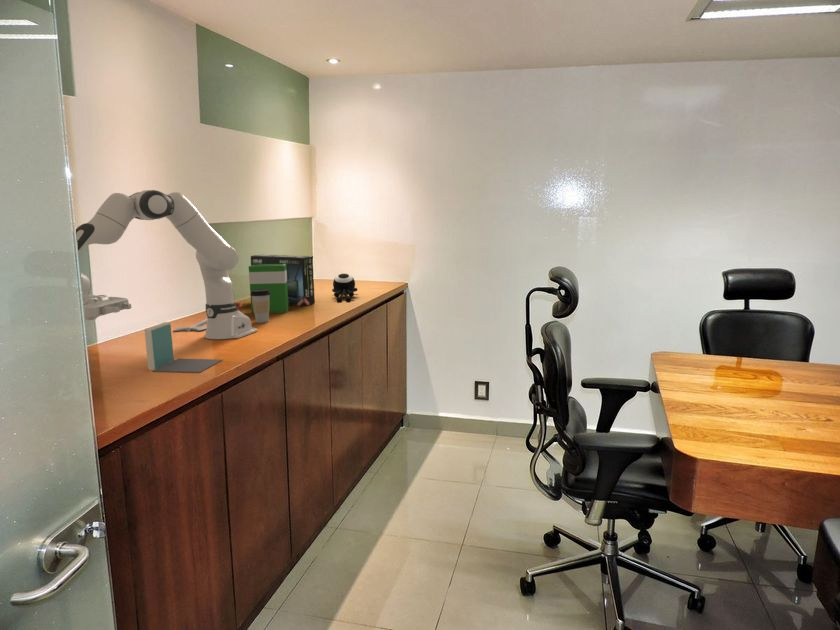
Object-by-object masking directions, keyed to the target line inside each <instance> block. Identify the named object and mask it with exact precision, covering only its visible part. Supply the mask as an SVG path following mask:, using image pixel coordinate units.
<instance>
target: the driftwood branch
mask: <svg viewBox="0 0 840 630" xmlns="http://www.w3.org/2000/svg"><path fill="white" fill-rule="evenodd" d="M204 324H207V317H206V318H204V319H202V320H200V321H198V322H196V323H194V324H193V325H191V326H185V325H184V326H178V327H176V328H174V329H173V330H174V332H180V331H186V332H191V331H196V332H197V331H198V332H199V331H203V330H206V327H207V325H204Z"/></svg>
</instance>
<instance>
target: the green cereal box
mask: <svg viewBox="0 0 840 630" xmlns="http://www.w3.org/2000/svg"><path fill="white" fill-rule="evenodd" d="M248 277H249V291H250V293H251V292H252V290H257V289H268V290H269V292H271V294H270V298H269V300H270V307H269V314H272V313H274V314H275V313H288V311H289V310H290V309H289V306H290V305H288V288H287V270H286V264H264V265H251V264H250V265H248ZM250 293H249V294H250ZM250 309H251V310H250V311H251V314H255V313H254V309H253V304H252V296H251V295H250Z"/></svg>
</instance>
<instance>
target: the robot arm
mask: <svg viewBox="0 0 840 630" xmlns="http://www.w3.org/2000/svg"><path fill="white" fill-rule="evenodd" d="M163 218H166V219H167V220H169V221H170V223H171V224H172V226H173V227H174V228H175V229H176V231H178V233H179V234H180V235H181V237H182V238H183V239H184V240H185V242H186V243H187V244H189V245H190V246H191V247H192V248H194V249H195V250H196V251H195V259H196V261H197V263H198V266H199V269H200V272H201V276H202V279H203V284H204V292H205V300H206V301H205V302H206V303H205V312H206V318H207V323H206V326H207V327H206V329H205V335H204V337H205V338H206V339H208V340H228V339H240V338H243V337H245V336H248V335H250V334H253V333H256V332H258V328H256V327H252V322H251V318H250V317H249V316H248V315H246V314H244V313H243V312H242V311H240V310H239V308H241V307H243V303H242V301H237V302H235V298H234V297H235V294H234V284H233V281H232V280H231V278H230V277H231V276H230V275H229V272H228V271H230V270H233V269H234V268H235V267H236V266H237V265H238V263H239V253H238V251H237V250H236V249H235V248H234V247H233V246H231V245H230V244H229V243H228V242H227V240H225V239H224V238H223V237H222V236H221V235H220V234H219V233H218V232H217V231H216V230H215V229H214V228H213V227H212V226H211V225H210V224H209V222H208V221H207V220H206V219H205V218H204V217H203V215H202V214H201V213H200V211H199V209H197V207H196V206H195V205H194V204H193V203H192V202H191V201H190V200H189V198H187V197H186V196H185V195H184V194H182V193H181V192H177V191H174V192H170V193H168V194H166V193H163V192H162V191H160V190H156V189H149V190H147V189H145V190H142V191H137V192H135V193H132V194H130V195H129V196H128V195H126V194H124V193H120V192H114V193H111V194H110V195H109V196H108V197H107V198H106V199H105V201H103V202H102V204H101V205H100V206H99V208H98V209H97V210H96V212H95V214H94V215H93V217H92V218H91V219H90V220H89V221H88V222H85V223H82V224H81V225H79V226H78V227H77V228H76V229H75V230H76V234H77V242H78V250H79V255H80V254H81V252H82V251H83V250H85V248H86V247H87V246H89V245H93V244H94V245H96V244H98V245H111V244H115V243H117V242H118V241H119V240H120V239H121V238H122V236H124V234H125V231H126V230H127V229H128V226H129V225H130V223H131V222H132V221H133V220H134V219H137V220H143V221H154V220H160V219H163ZM81 277H82V290H83V301H84V309H85V319H86V320H85V321H95V320H97V318H99V317H102V316H105V315H109V314H112V313H113V314H114V313H115V314H116V313H119V312H120V311H124V310H131V309H132V304H131V303H130V302H129V299H128V298H127V297H121V296H120V297H119V296H108V295H106V294H99V295H95V294H90V292H91V287H92V281H91V279H90V277H89V276H88V275H86V274H85V273H82V272H81Z"/></svg>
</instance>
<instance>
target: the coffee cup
mask: <svg viewBox="0 0 840 630" xmlns="http://www.w3.org/2000/svg"><path fill="white" fill-rule="evenodd" d="M270 294H271V292H269V290H268V289H257V290H252V292H251V293H249V295H250V297H251V296H252V304H253V309H254V313H253V314H254V317H255V323H257V324H264V323H269V320H270V313H269V307H270V300H269V298H270Z"/></svg>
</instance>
